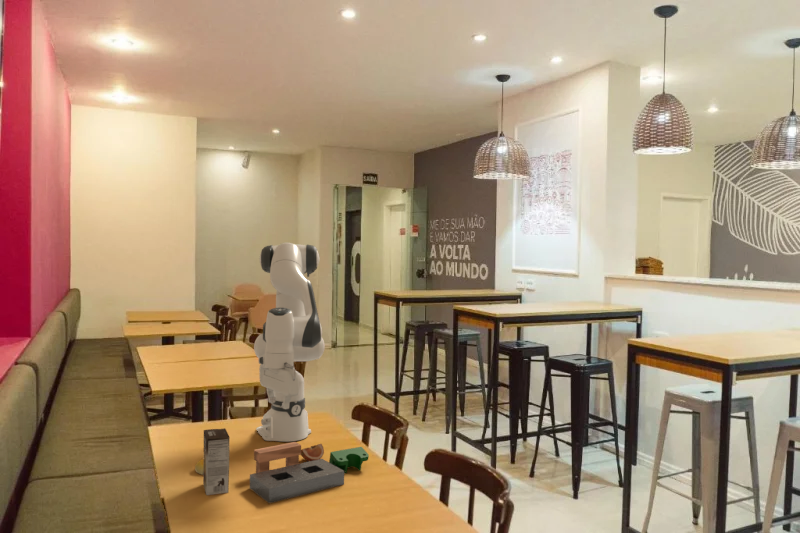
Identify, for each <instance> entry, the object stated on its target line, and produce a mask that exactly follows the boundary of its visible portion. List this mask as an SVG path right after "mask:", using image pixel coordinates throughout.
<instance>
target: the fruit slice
mask: <svg viewBox="0 0 800 533" xmlns="http://www.w3.org/2000/svg"><path fill="white" fill-rule="evenodd" d="M324 454H325V450H324V446H323V443H318V444H317V445H316V444H315V445H312V446H310V447H305V448H301V455H300V456H301V457H302V458H303V459H304V460H305V461H306V462H309V461H314V460H318V459H323V456H324Z"/></svg>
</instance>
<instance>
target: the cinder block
mask: <svg viewBox="0 0 800 533" xmlns="http://www.w3.org/2000/svg"><path fill="white" fill-rule="evenodd" d="M344 484H345V473H344V471H343V470H342V469H340V468H338V467H336V466H334V465H333V464H331V463H329V461H327V460H325V459H324V458H321V459H318V460H314V461H306V462H305V461H304V462H299V464H296V465H291V466H286V465H285V466H283V467H278V468H274V469H269V470H268V471H264V472H259V473H256V472H255V473H252V474H251V473H250V474H249V489H250V490H251V491H253V492H254V493H255V494H257V495H258V496H259V497H261V498H262V499H263V500H265V502H267V503H268V504H272V503H276V502H281V501H284V500H288V499H291V498H297V497H300V496H304V495H308V494H311V493H315V492H319V491H323V490H327V489H331V488H335V487H336V488H337V487H339V486H342V485H344Z"/></svg>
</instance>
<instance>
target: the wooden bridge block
mask: <svg viewBox="0 0 800 533" xmlns="http://www.w3.org/2000/svg"><path fill="white" fill-rule="evenodd" d="M301 450H302V444H300V443H298V442H296V441H291V442H286V443H282V444H277V445H272V446H267V447H262V448H257V449H253V460H254V461H255V473H259V472H264V471H268V470H270V462H272V461H273V462H274V461H278V460H281V459H285V467H286V466H291V465H296V464H300V456H301Z"/></svg>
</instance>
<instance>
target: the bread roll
mask: <svg viewBox="0 0 800 533" xmlns="http://www.w3.org/2000/svg"><path fill="white" fill-rule="evenodd" d="M203 464H204V458H201V459H199V460H198V461H197V462H196V464H195V465H194V469H195V472H196V473H197V474H199V475H202V476H203Z"/></svg>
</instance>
